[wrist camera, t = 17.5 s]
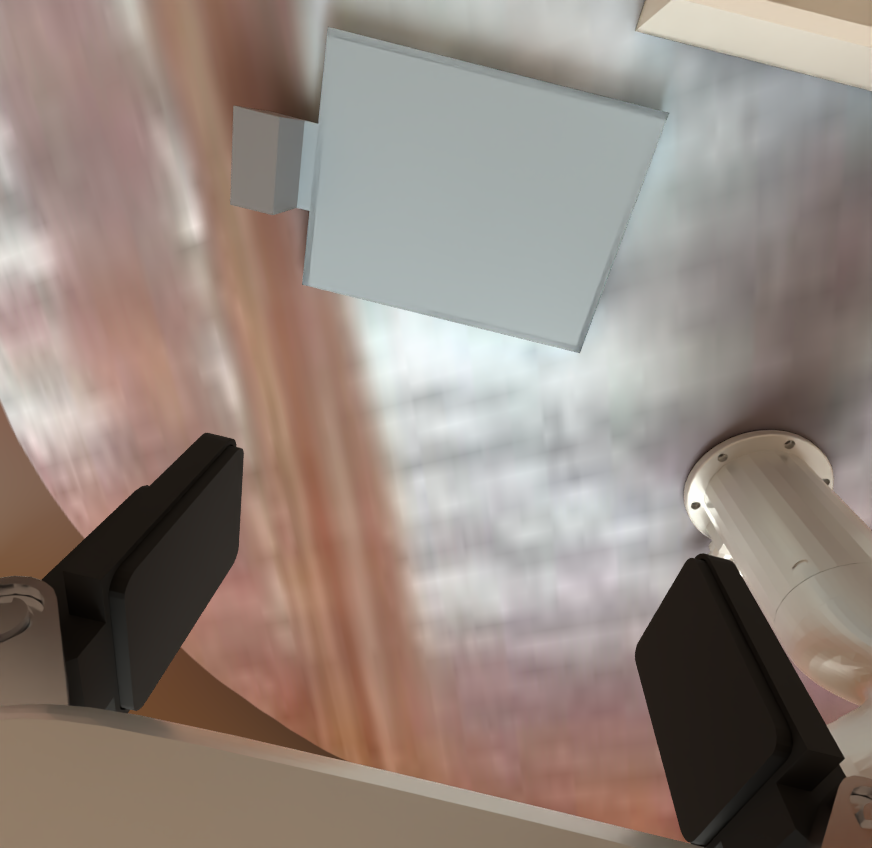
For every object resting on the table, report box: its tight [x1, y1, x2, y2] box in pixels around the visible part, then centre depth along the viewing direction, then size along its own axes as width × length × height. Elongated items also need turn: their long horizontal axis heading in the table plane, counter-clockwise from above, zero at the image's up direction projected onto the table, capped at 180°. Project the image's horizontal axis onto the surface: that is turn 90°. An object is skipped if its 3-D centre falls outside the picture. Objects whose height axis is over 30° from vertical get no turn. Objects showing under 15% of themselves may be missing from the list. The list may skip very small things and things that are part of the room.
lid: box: [230, 27, 669, 353], centre depth 39 cm, size 18×28×7 cm, turn 78°
